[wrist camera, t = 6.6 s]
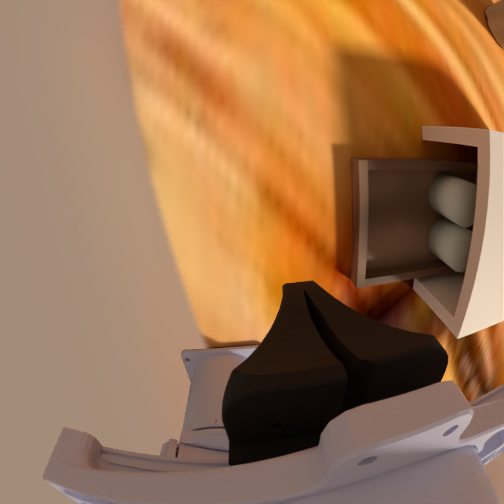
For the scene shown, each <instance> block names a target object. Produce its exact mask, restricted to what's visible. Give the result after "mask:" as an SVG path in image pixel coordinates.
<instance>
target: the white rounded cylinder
mask: <svg viewBox="0 0 504 504" xmlns="http://www.w3.org/2000/svg"><path fill="white" fill-rule="evenodd" d="M472 233H473V232H472V231H470V230H468V229H466V228H464V227H461V226H459V225H457V224H456V223H454V222H452V221H451V220H449V219H447V218H443V219H440V220H438V221H437V222H436V223H435V224H434V225H433V226H432V228H431V230H430V232H429V235H428V248H429V250H430V252H431V253H432V254H434V255H435V256H436V257H438V258H439V259H440V260H442V261H443V262H444V263H446V264H447V265H448V266H450V267H451V268H452V269H453V270H455V271H456V272H463V271H465V270H466V267H467V262H468V257H469V252H470V246H471V240H472Z"/></svg>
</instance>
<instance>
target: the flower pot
mask: <svg viewBox="0 0 504 504" xmlns="http://www.w3.org/2000/svg"><path fill="white" fill-rule="evenodd" d="M485 14H486V15H487V18H488V26H489V28H490V30H491V32H492V34H493V36H494V38H495V39H496V41H497V42H498V44H499V45H500V46H501V47H502V48H503V49H504V0H501V1H499V2H497V3H495V4H493V5H491V6H489V7H488V8H487V9H486V12H485Z"/></svg>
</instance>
